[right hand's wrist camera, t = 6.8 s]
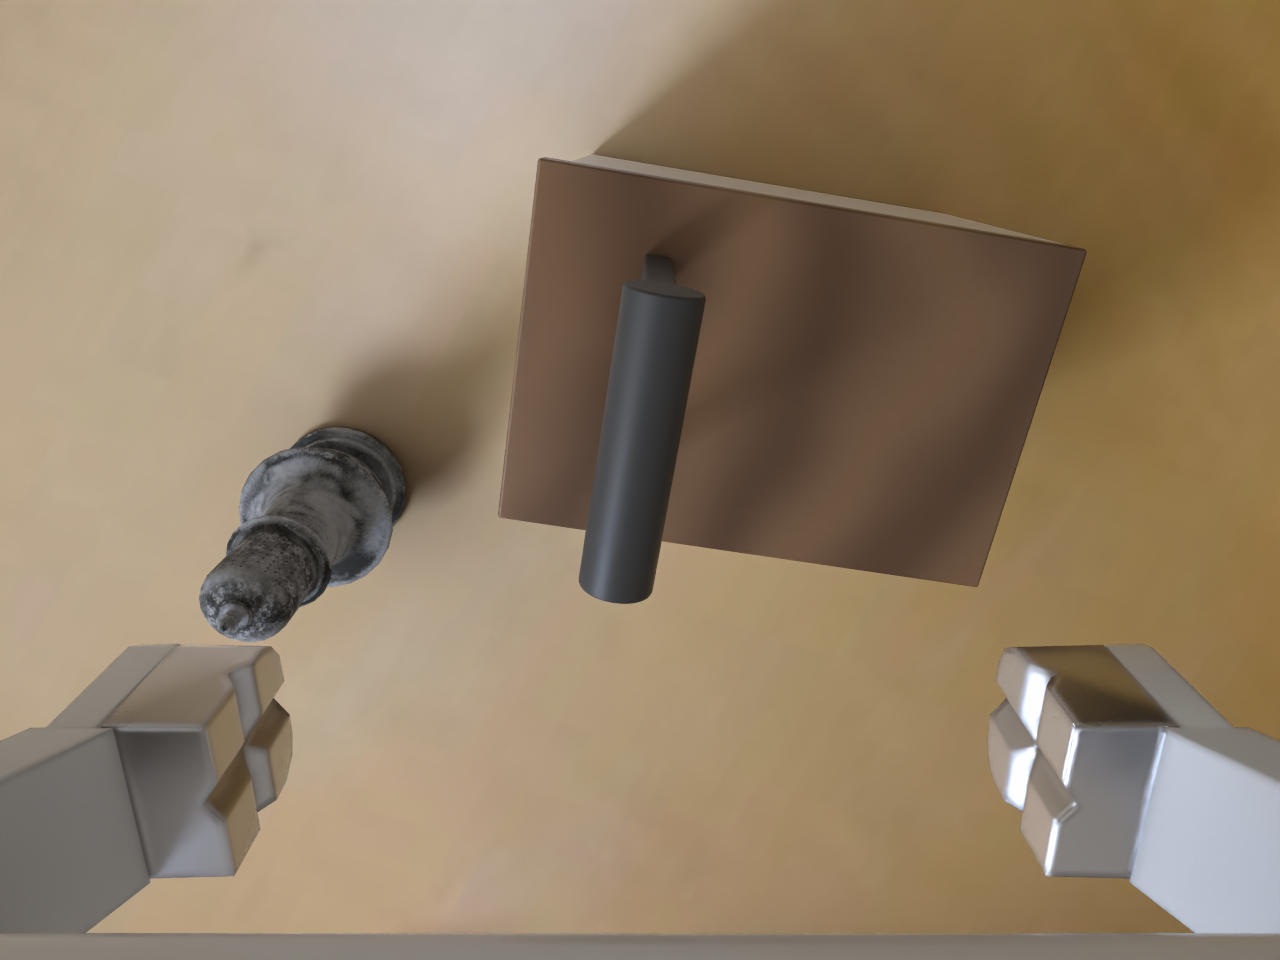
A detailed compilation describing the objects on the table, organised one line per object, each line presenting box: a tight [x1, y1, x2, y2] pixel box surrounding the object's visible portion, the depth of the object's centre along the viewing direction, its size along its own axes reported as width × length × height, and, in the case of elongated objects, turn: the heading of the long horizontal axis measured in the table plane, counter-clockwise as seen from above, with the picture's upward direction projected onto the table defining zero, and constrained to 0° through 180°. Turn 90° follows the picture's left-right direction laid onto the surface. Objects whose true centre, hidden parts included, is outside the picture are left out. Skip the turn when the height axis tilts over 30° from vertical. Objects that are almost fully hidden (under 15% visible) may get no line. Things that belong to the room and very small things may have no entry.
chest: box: [572, 154, 1063, 244], centre depth 31 cm, size 14×10×11 cm
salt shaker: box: [199, 427, 406, 642], centre depth 33 cm, size 6×6×12 cm
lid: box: [498, 157, 1086, 604], centre depth 22 cm, size 14×10×8 cm
